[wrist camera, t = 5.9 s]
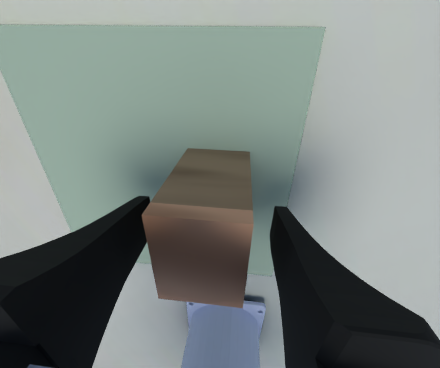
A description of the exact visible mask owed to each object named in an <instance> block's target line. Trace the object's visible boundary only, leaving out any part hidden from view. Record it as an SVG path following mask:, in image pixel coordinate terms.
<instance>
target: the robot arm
mask: <svg viewBox="0 0 440 368" xmlns="http://www.w3.org/2000/svg"><path fill="white" fill-rule="evenodd" d="M149 203H150V197H149V196H137V197H135V198H133V199H132V200H130V201H128V202H127V203H125V204H123V205H122V206H120V207H118V208H117V209H115V210H113V211H112V212H110V213H108V214H106V215H105V216H103V217H101V218H99V219H97V220H96V221H94V222H92V223H90V224H88V225H86V226H84V227H82V228H80V229H78V230H76V231H74V232H72V233H69V234H67V235H65V236H62V237H60V238H57V239H55V240H52V241H50V242H47V243H45V244H42V245H40V246H37V247H34V248H31V249H28V250H25V251H22V252H19V253H16V254H13V255H10V256H6V257H3V258H0V368H92V366H93V363H94V360H95V357H96V354H97V351H98V348H99V345H100V343H101V340H102V337H103V335H104V332H105V329H106V327H107V324H108V321H109V319H110V316H111V314H112V311H113V309H114V307H115V304H116V302H117V299H118V297H119V295H120V292H121V290H122V288H123V286H124V283H125V281H126V279H127V277H128V275H129V274H130V272H131V270H132V268H133V266H134V265H135V263H136V261H137V259H138V258H139V256H140V254H141V252H142V251H143V249H144V247H145V245H146V243H147V239H146V234H145V230H144V225H143V220H142V214H143V212H144V211H145V209H146V208H147V206H148V205H149ZM270 248H271V255H272V261H273V266H274V271H275V276H276V281H277V286H278V291H279V297H280V306H281V316H282V327H283V339H284V352H285V366H286V368H440V340H439V339H438V337H437V336H436V334H435V333H434V331H433V330H432V329H431V327H430V326H429V324H428V323H427V322H426V321H425V319H424V318H422V317H420V316H419V315H417V314H415V313H414V312H412V311H410V310H409V309H407V308H405V307H403V306H402V305H400V304H398V303H397V302H395V301H393V300H392V299H390V298H388V297H387V296H385V295H384V294H382V293H381V292H379V291H378V290H376V289H375V288H373V287H372V286H370V285H369V284H367V283H366V282H364V281H363V280H361V279H360V278H359V277H357V276H356V275H355V274H353V273H352V272H351V271H349V270H348V269H347V268H346V267H344V266H343V265H342V264H341V263H339V262H338V261H337V260H336V259H335V258H333V257H332V256H331V255H330V254H329V253H328V252H327V251H326V250H324V249H323V248H322V247H321V246H320V245H319V244H318V243H317V242H316V241H315V240H314V239H313V238H312V237H311V235H310V234H309V233H308V232H307V231H306V230H305V229H304V228H303V226H302V225H301V224H300V223H299V222H298V220H297V219H296V218H295V217H294V216H293V214H292V213H291V212H290V211H289V209H288V208H287V207H284V206H275V207H274V213H273V218H272V224H271V229H270ZM186 304H187V314H188V324H189V332H188V337H187V342H186V346H185V351H184V356H183V361H182V365H181V368H260V358H259V338H260V333H261V329H262V324H263V319H264V315H265V310H266V306H265V304H264V303H261V302H253V301H244V303H243V308H237V307H228V306H219V305H211V304H202V303H194V302H186Z"/></svg>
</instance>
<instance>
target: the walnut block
mask: <svg viewBox="0 0 440 368" xmlns="http://www.w3.org/2000/svg"><path fill="white" fill-rule="evenodd" d="M142 220H143V225H144V230H145V234H146V239H147V244H148V249H149V254H150V259H151V264H152V268H153V273H154V278H155V283H156V288H157V293H158V298H159V299H168V300H177V301H185V302H194V303H202V304H211V305H219V306H228V307H237V308H243V303H244V295H245V287H246V280H247V272H248V264H249V257H250V249H251V241H252V233H253V226H254V221H253V202H252V183H251V164H250V152H246V151H229V150H211V149H194V148H187V150H186V151H185V153H184V154H183V156H182V157H181V159H180V160H179V161H178V163H177V164H176V166H175V167H174V169H173V170H172V172H171V173H170V174H169V176H168V177H167V179H166V180H165V182H164V183H163V185H162V186H161V187H160V189H159V190H158V192H157V193H156V195H155V196H154V198H153V199H152V201H151V202H150V203H149V205H148V206H147V208H146V209H145V211H144V212H143V214H142Z"/></svg>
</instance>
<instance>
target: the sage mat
mask: <svg viewBox="0 0 440 368" xmlns="http://www.w3.org/2000/svg"><path fill="white" fill-rule="evenodd" d="M325 28H326V27H245V26H102V25H0V70H1V73H2V75H3V77H4V80H5V82H6V84H7V86H8V89H9V91H10V93H11V96H12V98H13V100H14V102H15V105H16V107H17V109H18V112H19V114H20V116H21V118H22V121H23V123H24V125H25V128H26V130H27V132H28V134H29V137H30V139H31V141H32V144H33V146H34V148H35V150H36V153H37V155H38V157H39V160H40V162H41V164H42V166H43V169H44V171H45V173H46V175H47V178H48V180H49V182H50V185H51V187H52V189H53V191H54V194H55V196H56V198H57V201H58V203H59V205H60V207H61V210H62V212H63V214H64V217H65V219H66V221H67V223H68V226H69V228H70V230H71V233H72V232H74V231H76V230H78V229H80V228H82V227H84V226H86V225H88V224H90V223H92V222H94V221H96V220H97V219H99V218H101V217H103V216H105V215H106V214H108V213H110V212H112V211H113V210H115V209H117V208H118V207H120V206H122V205H123V204H125V203H127V202H128V201H130V200H132V199H133V198H135V197H137V196H149V197H150V202H151V201H152V199H153V198H154V196H155V195H156V193H157V192H158V190H159V189H160V187H161V186H162V185H163V183H164V182H165V180H166V179H167V177H168V176H169V174H170V173H171V172H172V170H173V169H174V167H175V166H176V164H177V163H178V161H179V160H180V159H181V157H182V156H183V154H184V153H185V151H186V150H187V148H194V149H211V150H229V151H246V152H250V164H251V183H252V202H253V221H254V226H253V233H252V241H251V249H250V257H249V264H248V272H247V274H254V275H263V276H272V273H273V269H274V266H273V261H272V255H271V248H270V229H271V224H272V218H273V213H274V207H275V206H284V207H287V204H288V199H289V194H290V190H291V185H292V181H293V176H294V171H295V167H296V162H297V157H298V153H299V148H300V143H301V139H302V134H303V130H304V125H305V120H306V116H307V111H308V106H309V102H310V97H311V93H312V88H313V83H314V79H315V74H316V69H317V65H318V60H319V55H320V51H321V46H322V42H323V37H324V32H325ZM136 263H145V264H151V259H150V254H149V249H148V244H147V243H146V245H145V247H144V249H143V251H142V252H141V254H140V256H139V258H138V259H137V261H136Z"/></svg>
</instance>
